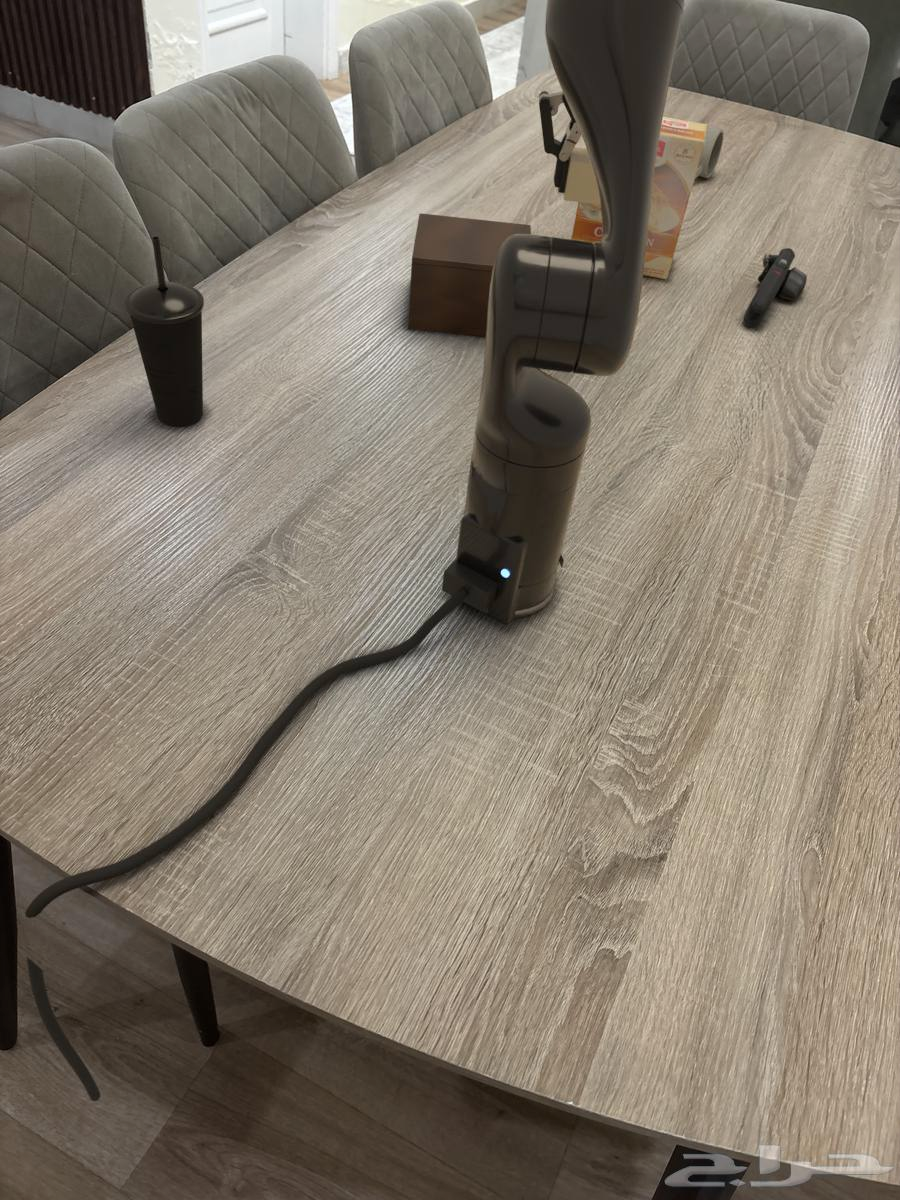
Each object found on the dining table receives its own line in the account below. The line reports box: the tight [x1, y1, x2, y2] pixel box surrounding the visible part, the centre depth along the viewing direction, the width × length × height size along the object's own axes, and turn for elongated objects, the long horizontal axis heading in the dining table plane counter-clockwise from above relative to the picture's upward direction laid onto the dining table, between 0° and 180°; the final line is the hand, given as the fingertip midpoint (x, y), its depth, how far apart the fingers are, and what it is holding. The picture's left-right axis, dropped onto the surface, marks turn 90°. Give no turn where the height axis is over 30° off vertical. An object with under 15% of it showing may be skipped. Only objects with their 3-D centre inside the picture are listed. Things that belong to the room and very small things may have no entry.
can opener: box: [743, 247, 808, 328], centre depth 131 cm, size 18×7×6 cm, turn 149°
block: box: [562, 146, 600, 204], centre depth 111 cm, size 4×4×4 cm
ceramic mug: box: [694, 126, 724, 180], centre depth 162 cm, size 11×8×8 cm
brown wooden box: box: [407, 212, 532, 338], centre depth 121 cm, size 15×13×10 cm
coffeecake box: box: [570, 116, 708, 281], centre depth 132 cm, size 15×7×20 cm, turn 76°
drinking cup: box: [123, 236, 205, 428], centre depth 96 cm, size 8×8×20 cm
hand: (582, 192), depth 112 cm, fingers closed on block, 4 cm apart
